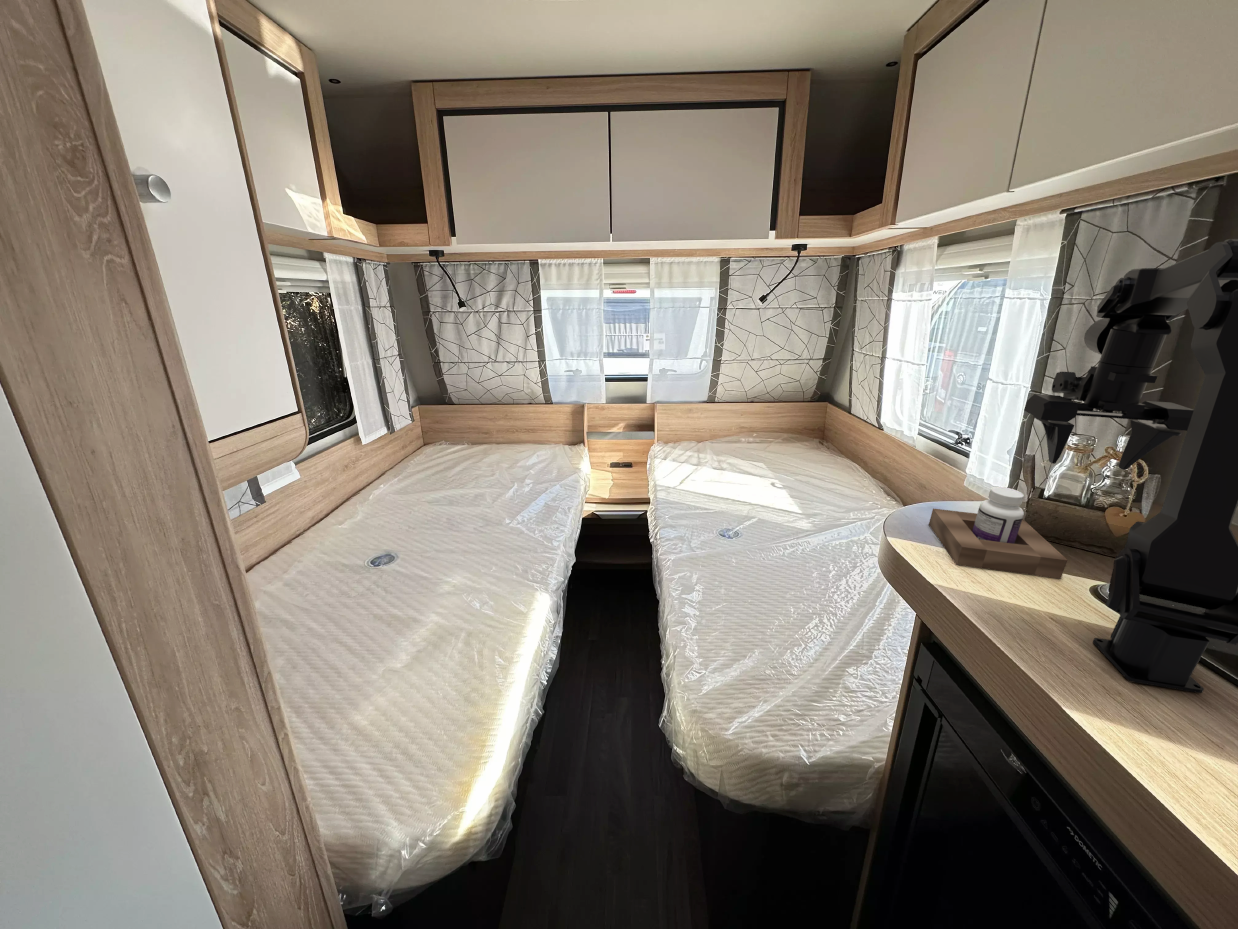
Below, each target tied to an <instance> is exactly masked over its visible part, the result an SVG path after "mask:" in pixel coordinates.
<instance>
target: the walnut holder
mask: <svg viewBox="0 0 1238 929" xmlns="http://www.w3.org/2000/svg"><path fill="white" fill-rule="evenodd" d="M977 513H978V512H977ZM977 513H976V512H968V511H967V512H965V511H958V510H948V509H943V508H942V509H941V508H932V511H931V515H930V519H929V521H928V526H929V528H930V529H931V530H932V531H933V533H934V534H935V536H936V538H937V539H938V538H939V539H938V540H939V541H941V542H940V543H941V545H942V544H943V545H942V547H944V549H945V550H946V551H947V553H948V555H949V556H950V558H951V559H952V560H953V562H954V564H955V565H957V566H963V567H970V568H977V569H982V570H983V569H984V570H990V571H991V570H993V571H1000V572H1005V573H1014V574H1022V575H1027V576H1028V575H1029V576H1034V577H1035V576H1036V577H1045V578H1051V579H1058V580H1059V579H1060V580H1061V579H1062V576H1063V573H1064V571H1065V569H1066V566H1067V563H1068V559H1067V558H1066V557H1065V556H1064V555H1063V554H1061V552H1059V551H1058V549H1056V548H1055V547H1054V546H1053V545H1052V544H1051V543H1050V542H1049V541H1047V539H1045V538H1044V537H1043V536H1042V535H1041V534H1040V533H1039V532H1038V531H1037V530H1036V529H1035V528H1033V527H1032V526H1031V525H1030V523H1028V522H1027V521H1026V520H1025V519H1024V518H1023V519H1022V522H1021V525H1020V528H1019V531H1018V534H1017V537H1016V540H1015V543H1014V544H1012V543H1004V542H996V541H988V540H980V539H978V538H977V537H976V536H975V535H974V534H973V532H972V530H973V527H974V523H975V520H976V517H977Z"/></svg>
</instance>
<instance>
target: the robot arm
mask: <svg viewBox="0 0 1238 929" xmlns="http://www.w3.org/2000/svg"><path fill="white" fill-rule="evenodd" d="M1096 309H1097V310H1096V317H1097V318H1099V319H1098V320H1096V321H1095V322H1094V323H1092V324H1091V325H1089V327H1088V328H1087V329H1086V331H1085V333H1084V335H1083V336H1084V337H1083V341H1084V344H1085V347H1086V348H1088V349H1089V351H1091V352H1093V353H1096V354H1098V355H1100V358H1099V361H1098V364H1097V366H1095V365H1094V366H1093V365H1091V366H1090V368H1089V369H1088V370H1087V374H1086V375H1085V376H1077V375H1076V372H1074V371H1059V372H1056V374H1055V376H1054V378H1053V381H1052V384H1051V391H1052V393H1054V394H1039V393H1034V394H1033V395H1032V396H1030V397H1029V398H1028V399H1027V400H1026V403H1025V406H1024V409H1023V411H1024V412H1026V413H1029V414H1030V415H1032V417H1033V418H1034V419H1036V420H1037V421H1039V422H1041V424H1042V426H1043V428H1044V433H1045V438H1046V445H1047V456H1048V461H1049V463H1050V464H1052V465H1056V464H1057V462H1058V460H1059V459H1060V457H1061V456H1062V454H1063V451H1064V450H1065V447H1066V445H1067V442H1068V440H1069V438H1070V436H1071V434H1072V431H1073V430H1074V427H1075V424H1073V423H1072V422H1071V421H1072V420H1073V419H1075V418H1076V417H1080V416H1081V417H1092V418H1106V419H1107V418H1108V419H1123V420H1130V428H1131V429H1130V430H1131V433H1130V436H1129V438H1128V439H1127V440H1128V441H1127V442H1126V445H1125V447H1124V449H1123V452H1122V455H1121V456H1120V460H1119V464H1118V468H1119V469H1120V470H1121V471H1122V470H1123V471H1126V470H1127V469H1129V468H1130V467H1131V466H1133V465H1134V464H1136V462H1138V461H1139V460H1141V459H1142V458H1143V457H1144V456H1145V455H1147V454H1149V453H1150V452H1152V450H1154V449H1155V448H1157V447H1158V446H1161V445H1162V444H1163V443H1164V442H1166V441H1167V440H1169V439H1171V438H1172V437H1176V436H1178V437H1179V436H1181V435H1182V433H1183V432H1182V431H1185V436H1184V439H1183V442H1182V446H1181V448H1180V452H1179V455H1178V458H1177V461H1176V463H1175V467H1174V470H1173V473H1172V477H1171V480H1170V481H1169V482H1170V483H1169V485H1168V489H1167V491H1166V493H1165V494H1166V495H1165V497H1164V501H1163V504H1162V508H1161V510H1160V512H1158V513H1157V514H1155V515H1154V516H1153V517H1151V518H1149V519H1148V520H1147V521H1145V522H1144V521H1138V520H1137V521H1136V522H1134V524H1132V525H1131V527H1130V528H1129V531H1128V536H1127V539H1126V543H1125V544H1124V548H1122V549H1121V550H1120V551H1119V552H1118V554H1117V555H1116V556H1115V559H1114V560H1113V564H1112V565H1113V566H1112V571H1111V572H1112V573H1111V577H1110V581H1109V584H1108V593H1107V601H1106V603H1105V605H1106V607H1107V608H1109V609H1111V610H1112V611H1115V612H1116V613H1118V614H1119V617H1118V620H1117V621H1116V624H1115V625H1114V627H1113V630H1112V632H1111V634H1110V639H1106V638H1100V637H1094V638H1093V641H1092V643H1093V644H1094V645H1095V647H1097V649H1099V651H1101V653H1102V654H1103V655H1104V656H1105V657H1106V658H1107V659H1108V661H1109V662H1111V664H1112V665H1113V666H1114V667H1115V668H1116V669H1117V671H1119V673H1121V674H1122V675H1123V677H1124V678H1125V679H1126V680H1128V681H1130V682H1133V683H1138V684H1144V685H1149V686H1155V687H1161V688H1168V689H1174V690H1180V691H1184V692H1192V693H1198V694H1202V693H1203V692H1204V690H1205V688H1204V687H1203V686H1202V685H1201V684H1200V683H1199V682H1198V681H1197V680H1196V679H1195V678H1193V677H1192V676H1193V673H1194V671H1195V669H1196V667H1197V666H1198V663H1199V661H1200V660H1201V659H1202V656H1203V654H1204V652H1205V650H1206V649H1207V647H1208V645H1209V643H1210V640H1211V639H1212V640H1216V641H1220V642H1225V643H1226V644H1229V645H1232V646H1233V645H1234V646H1236V645H1238V541H1237V539H1236V537H1235V535H1234V532H1233V531H1232V529H1231V526H1232V522H1233V520H1234V516H1235V514H1236V511H1237V508H1238V238H1229V239H1225V240H1223V241H1216V242H1215V243H1213V244H1212V245H1211V246H1210V247H1209V249H1206V250H1204V251H1202V252H1200V253H1198V254H1194V255H1192V256H1190V257H1188V258H1185V259H1183V260H1180V261H1178V262H1175V263H1174V264H1171V265H1168V266H1167V267H1166V266H1165V267H1149V268H1147V267H1145V268H1133V269H1130V270H1128V271H1127V272H1125V274H1124V275H1123V277H1120V278H1119V279H1117V281H1116V282H1115V284H1114V285H1112V286H1111V288H1110V289H1109V290H1108V291H1107V292H1106V294H1105V295H1104V297H1103V298H1102V299H1101V301H1100V302H1099V303H1098V304H1097V308H1096ZM1187 310H1188V312H1189V316H1190V320H1191V323H1192V326H1193V328H1194V330H1193V335H1192V339H1191V344H1190V348H1191V351H1192V352H1193V354H1194V356H1195V358H1196V361H1197V362H1198V364H1199V366H1200V368H1201V370H1202V371H1203V373H1204V378H1203V381H1202V384H1201V386H1200V387H1201V388H1200V390H1199V393H1198V397H1197V400H1196V403H1195V405H1194V408H1189V407H1187V406H1183V405H1181V404H1177V403H1174V402H1168V401H1167V402H1165V401H1151V400H1145V401H1143V402H1141V399H1142V397H1143V395H1144V392H1145V389H1146V386H1147V385H1148V384H1155V383H1156V381H1157V378H1158V375H1156V374H1152V371H1153V369H1154V368H1155V367H1154V366H1155V364H1156V362H1157V361H1158V360H1157V359H1158V357H1159V354H1160V353H1161V350H1162V347H1163V344H1164V342H1165V340H1166V338H1167V335H1168V336H1169V335H1171V333H1172V332H1173V329H1172V326H1171V324H1169V323H1168V322H1171V321H1173V320H1174V319H1175V318H1177V317H1178V316H1179V315H1180V314H1181V313H1183V312H1184V311H1187ZM1057 394H1063V396H1062V395H1057ZM1076 401H1078V402H1076ZM1141 596H1146V597H1150V598H1154V599H1158V600H1163V601H1169V602H1172V603H1177V604H1182V605H1186V606H1192V607H1195V608H1196V607H1197V608H1201V609H1204V611H1200V610H1196V609H1191V608H1187V607H1183V606H1178V605H1174V604H1169V603H1165V602H1160V601H1157V600H1155V601H1154V600H1150V599H1146V598H1141ZM1209 639H1210V640H1209Z"/></svg>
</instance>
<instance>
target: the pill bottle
mask: <svg viewBox="0 0 1238 929" xmlns="http://www.w3.org/2000/svg"><path fill="white" fill-rule="evenodd" d="M1024 496H1025V495H1024V493H1023V492H1021V491H1018V490H1017V489H1013V488H1009V487H1002V486H993V487H991V488H990V490H989V492H988V496H987V497H988V499H985V500H982V501H981V503H980V504H979V506H978V507H979V508H978V511H977V517H976V520H975V523H974V527H973V530H972V532H973V534H974V535H975V536H976V537H977V538H978V539H980V540H988V541H996V542H1004V543H1012V544H1014V543H1015V540H1016V537H1017V534H1018V531H1019V528H1020V525H1021V522H1022V519H1023V520H1024V514H1025V512H1024V510H1023V508H1021V507H1020V506H1021V505H1022V503H1023V500H1024Z"/></svg>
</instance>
